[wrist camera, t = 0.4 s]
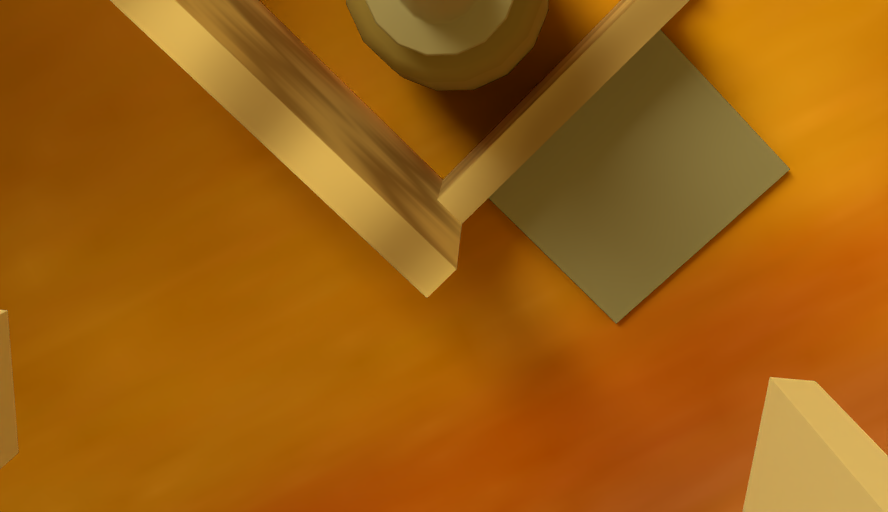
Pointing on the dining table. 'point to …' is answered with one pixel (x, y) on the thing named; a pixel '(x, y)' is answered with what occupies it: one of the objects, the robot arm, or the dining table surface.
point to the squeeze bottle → (450, 37)
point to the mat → (639, 178)
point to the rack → (377, 120)
